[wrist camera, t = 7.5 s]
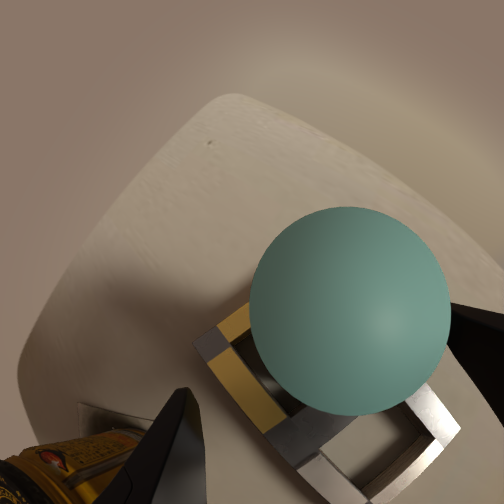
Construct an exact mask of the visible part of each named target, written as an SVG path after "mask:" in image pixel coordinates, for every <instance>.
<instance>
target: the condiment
mask: <svg viewBox="0 0 504 504" xmlns="http://www.w3.org/2000/svg"><path fill="white" fill-rule="evenodd" d="M78 414H79V434H80V438H78V439H74V440H69V441H64V442H57V443H52V444H45V445H39V446H34V447H29V448H26V449H24V450H23V451H22V452H21V453H20V455H19V456H15V455H13V456H11V457H9V458H7V459H5V460H0V504H91V503H92V502H93V501H94V500H95V499H96V498H97V497H98V496H99V495H100V494H101V493H102V491H103V490H104V489H105V488H106V487H107V486H108V484H109V483H110V482H111V481H112V479H113V478H114V477H115V475H116V474H117V473H118V471H119V470H120V468H121V467H122V466H124V463H125V461H126V460H127V459H128V457H129V456H130V454H131V453H132V452H133V450H134V449H135V447H136V446H137V444H138V443H139V442H140V440H141V439H142V437H143V436H144V434H145V433H146V432H147V430H148V429H149V427H150V426H151V424H152V423H153V422H154V421H150V420H145V419H140V418H135V417H131V416H126V415H122V414H117V413H113V412H110V411H106V410H103V409H99V408H95V407H92V406H88V405H85V404H82V403H79V402H78ZM112 427H114V429H112Z"/></svg>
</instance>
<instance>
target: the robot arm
mask: <svg viewBox="0 0 504 504" xmlns="http://www.w3.org/2000/svg"><path fill="white" fill-rule="evenodd" d="M450 305H451V322H450V330H449V336H448V340H447V343H446V344H447V345H448V347H449V348H450V350H451V352H452V353H453V355H454V356H455V358H456V359H457V361H458V362H459V364H460V365H461V366H462V367H463V369H464V370H465V371H466V373H467V374H468V376H469V377H470V378H471V380H472V381H473V382H474V384H475V385H476V387H477V388H478V389H479V391H480V392H481V394H482V395H483V397H484V398H485V400H486V401H487V402H488V404H489V405H490V407H491V408H492V410H493V411H494V413H495V415H496V416H497V418H498V419H499V421H500V422H501V424H502V426H503V427H504V314H501V313H496V312H492V311H487V310H483V309H478V308H473V307H469V306H464V305H460V304H455V303H451V302H450ZM91 504H207V499H206V472H205V446H204V438H203V432H202V424H201V417H200V409H199V405H198V403H197V401H196V399H195V397H194V395H193V394H192V392H191V390H190V389H189V388H188V387H184V388H178V389H176V390H175V391H174V393H173V394H172V395H171V397H170V398H169V400H168V401H167V403H166V404H165V406H164V407H163V409H162V410H161V411H160V413H159V414H158V416H157V417H156V419H155V420H154V422H153V423H152V424H151V426H150V427H149V429H148V430H147V432H146V433H145V434H144V436H143V437H142V439H141V440H140V442H139V443H138V444H137V446H136V447H135V449H134V450H133V452H132V453H131V454H130V456H129V457H128V459H127V460H126V461H125V463H124V466H122V467H121V468H120V470H119V471H118V473H117V474H116V475H115V477H114V478H113V479H112V481H111V482H110V483H109V484H108V486H107V487H106V488H105V489H104V490H103V491H102V493H101V494H100V495H99V496H98V497H97V498H96V499H95V500H94V501H93V502H92V503H91Z"/></svg>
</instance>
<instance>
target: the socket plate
mask: <svg viewBox="0 0 504 504" xmlns="http://www.w3.org/2000/svg"><path fill="white" fill-rule="evenodd" d="M251 333H252V332H251V325H250V318H249V302H248V303H246V304H245V305H244V306H242V307H241V308H239V309H238V310H237V311H235V312H234V313H233V314H231V315H230V316H229V317H227V318H226V319H224V320H223V321H222V322H220V323H219V324H218V325H216V326H215V327H213V328H212V329H211V330H209V331H208V332H206V333H205V334H204V335H202V336H201V337H199V338H198V339H197V340H195V341H194V342H192V344H193V345H194V347H195V348H196V350H197V351H198V353H199V354H200V355H201V357H202V358H203V360H204V361H205V362H206V364H207V365H208V366H209V368H210V369H211V371H212V372H213V373H214V375H215V376H216V377H217V379H218V380H219V381H220V383H221V384H222V385H223V387H224V388H225V389H226V390H227V392H228V393H229V394H230V396H231V397H232V398H233V399H234V401H235V402H236V403H237V404H238V406H239V407H240V408H241V409H242V411H243V412H244V413H245V414H246V416H247V417H248V418H249V419H250V420H251V422H252V423H253V424H254V425H255V426H256V427H257V429H258V430H259V431H260V432H261V433H262V434H263V436H264V437H265V438H266V439H267V440H268V441H269V442H270V443H271V445H272V446H273V447H274V448H275V449H276V450H277V451H278V452H279V453H280V454H281V456H282V457H283V458H284V459H285V460H286V461H287V462H288V463H289V464H290V465H291V466H292V467H293V468H294V469H295V470H296V471H297V472H298V473H299V474H300V475H301V476H302V477H303V478H304V479H305V480H306V481H307V482H308V483H309V484H310V485H311V486H312V487H313V488H314V489H315V490H316V491H317V492H318V493H319V494H320V495H321V496H322V497H323V498H324V499H326V500H327V501H328V502H329V503H330V504H387V503H388V502H389V501H391V500H392V499H393V498H394V497H395V496H397V495H398V494H399V493H400V492H401V491H402V490H403V489H405V488H406V487H407V486H408V485H409V484H410V483H411V482H412V481H413V480H414V479H415V478H416V477H417V476H418V475H420V474H421V473H422V472H423V471H424V470H425V469H426V468H427V466H428V465H429V464H430V463H431V462H432V461H433V460H434V459H435V458H436V457H437V456H438V455H439V454H440V453H441V451H442V450H443V449H444V448H445V447H446V446H447V445H448V443H449V442H450V441H451V440H452V439H453V437H454V436H455V435H456V434H457V433H458V431H459V430H460V429H461V428H460V427H459V425H458V424H457V423H456V421H455V420H454V419H453V417H452V416H451V415H450V413H449V412H448V411H447V409H446V408H445V407H444V405H443V404H442V403H441V401H440V400H439V399H438V397H437V396H436V395H435V394H434V392H433V391H432V390H431V388H430V387H429V386H428V385H427V383H426V382H425V383H424V384H423V385H422V386H421V387H420V388H419V389H418V390H417V391H416V392H415V393H414V394H413V395H411V396H410V397H408V398H407V399H406V400H404V401H403V402H401V403H399V404H397V406H398V407H399V408H400V410H401V411H402V412H403V413H404V414H405V416H406V417H407V418H408V419H409V420H410V422H411V423H412V424H413V425H414V426H415V428H416V429H417V430H418V431H419V432H420V434H421V435H420V436H419V438H418V439H417V440H416V441H415V442H414V443H413V444H412V445H411V446H410V447H409V448H408V449H407V450H406V451H405V452H404V453H403V454H402V455H401V456H400V457H399V458H397V459H396V460H395V461H394V462H393V463H392V464H391V465H390V466H389V467H388V468H386V469H385V470H384V471H383V472H382V473H381V474H380V475H378V476H377V477H376V478H375V479H374V480H372V481H371V482H370V483H369V484H367V485H366V486H365V487H364V488H362V489H361V490H360V489H359V488H358V487H357V486H356V485H355V484H354V483H353V482H352V481H351V480H350V479H349V478H348V477H347V476H346V475H345V474H344V473H343V472H342V471H341V470H340V469H339V468H338V467H337V466H336V465H335V464H334V463H333V462H332V461H331V460H330V459H329V458H328V457H327V456H326V455H325V454H324V453H323V452H322V451H321V450H320V447H321V446H323V445H324V444H325V443H326V442H328V441H329V440H330V439H332V438H333V437H334V436H335V435H337V434H338V433H339V432H340V431H341V430H343V429H344V428H345V427H346V426H347V425H349V424H350V423H351V422H352V421H353V420H354V419H356V418H357V417H358V416H345V415H336V414H331V413H327V412H324V411H320V410H317V409H315V408H313V407H311V406H308V405H306V404H304V403H302V404H300V405H299V406H298V407H296V408H295V409H294V410H293V411H291V412H290V413H287V412H286V410H285V409H284V408H283V407H282V406H281V405H280V403H279V402H278V401H277V400H276V399H275V397H274V396H273V395H272V394H271V393H270V391H269V390H268V389H267V388H266V387H265V385H264V384H263V383H262V382H261V380H260V379H259V378H258V377H257V375H256V374H255V373H254V372H253V370H252V369H251V368H250V367H249V365H248V364H247V363H246V362H245V360H244V359H243V358H242V356H241V355H240V354H239V353H238V351H237V350H236V349H235V347H234V346H235V345H236V344H237V343H239V342H240V341H242V340H243V339H244V338H246V337H247V336H248V335H250V334H251Z"/></svg>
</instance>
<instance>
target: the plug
mask: <svg viewBox="0 0 504 504" xmlns="http://www.w3.org/2000/svg"><path fill="white" fill-rule="evenodd" d="M249 318H250V325H251V332H252V335H253V339H254V342H255V345H256V348H257V350H258V353H259V355H260V357H261V359H262V361H263V363H264V364H265V366H266V368H267V369H268V371H269V372H270V374H271V375H272V376H273V377H274V378H275V380H276V381H277V382H278V383H279V384H280V385H281V386H282V387H283V388H284V389H285V390H286V391H287V392H289V393H290V394H291V395H292V396H293V397H295V398H296V399H298V400H300V401H301V402H303V403H304V404H306V405H308V406H311V407H313V408H315V409H317V410H320V411H324V412H327V413H331V414H336V415H345V416H359V415H367V414H373V413H377V412H380V411H383V410H386V409H389V408H391V407H393V406H395V405H397V404H399V403H401V402H403V401H404V400H406V399H407V398H408V397H410V396H411V395H413V394H414V393H415V392H416V391H417V390H418V389H419V388H420V387H421V386H422V385H423V384H424V383H425V382H426V381H427V380H428V378H429V377H430V376H431V375H432V373H433V372H434V370H435V368H436V367H437V365H438V363H439V361H440V359H441V357H442V355H443V352H444V350H445V347H446V343H447V340H448V336H449V330H450V322H451V305H450V297H449V291H448V287H447V283H446V280H445V277H444V274H443V272H442V270H441V267H440V265H439V263H438V262H437V260H436V258H435V256H434V255H433V253H432V252H431V250H430V249H429V248H428V247H427V245H426V244H425V243H424V242H423V241H422V240H421V239H420V238H419V236H418V235H417V234H415V233H414V232H413V231H412V230H411V229H409V228H408V227H407V226H405V225H404V224H402V223H401V222H399V221H398V220H396V219H394V218H392V217H390V216H388V215H385V214H383V213H380V212H377V211H374V210H370V209H365V208H358V207H336V208H328V209H324V210H321V211H317V212H314V213H312V214H309V215H307V216H304V217H303V218H301V219H299V220H297V221H296V222H294V223H293V224H291V225H290V226H289V227H287V228H286V229H285V230H283V231H282V232H281V233H280V234H279V235H278V236H277V237H276V238H275V239H274V241H273V242H272V243H271V244H270V246H269V247H268V248H267V250H266V251H265V253H264V255H263V257H262V258H261V260H260V262H259V264H258V267H257V269H256V272H255V274H254V278H253V282H252V285H251V291H250V299H249Z"/></svg>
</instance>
